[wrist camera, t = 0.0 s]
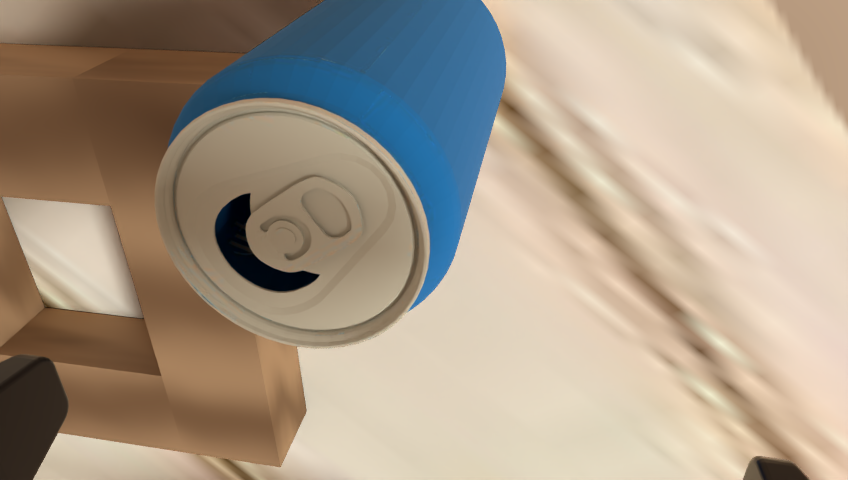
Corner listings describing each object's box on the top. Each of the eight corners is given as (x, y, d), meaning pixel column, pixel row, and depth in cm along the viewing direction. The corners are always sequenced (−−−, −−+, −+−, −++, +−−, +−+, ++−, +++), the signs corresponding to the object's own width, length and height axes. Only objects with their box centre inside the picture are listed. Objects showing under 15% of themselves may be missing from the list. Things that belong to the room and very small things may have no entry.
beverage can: (288, 31, 23) (71, 184, 13) (436, -84, 21) (301, 1, 11) (396, 175, 26) (278, 400, 16) (544, 88, 23) (516, 295, 13)
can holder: (306, 411, 34) (280, 467, 31) (-5, 368, 37) (-56, 414, 34) (251, 53, 24) (206, 85, 21) (-161, 36, 27) (-250, 62, 24)
